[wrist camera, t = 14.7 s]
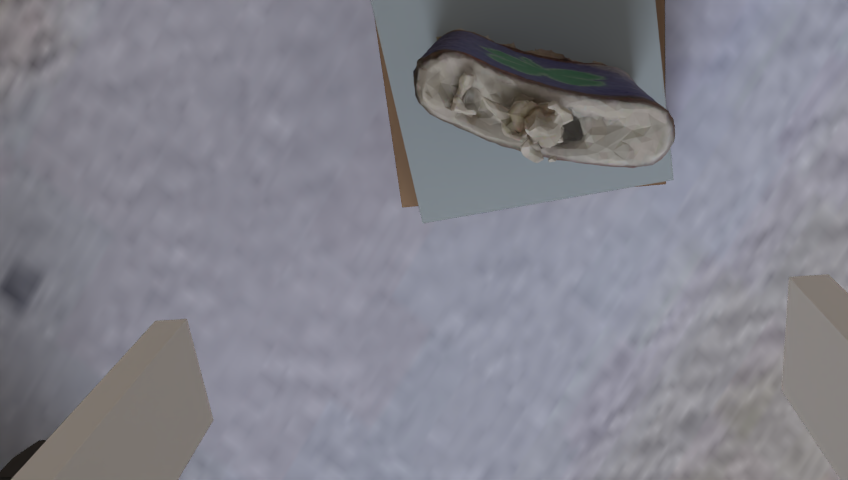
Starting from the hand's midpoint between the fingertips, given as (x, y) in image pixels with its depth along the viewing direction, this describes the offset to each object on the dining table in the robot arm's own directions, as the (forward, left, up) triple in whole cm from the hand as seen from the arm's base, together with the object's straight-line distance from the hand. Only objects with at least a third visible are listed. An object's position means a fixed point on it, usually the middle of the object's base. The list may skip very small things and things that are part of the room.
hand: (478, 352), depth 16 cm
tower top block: (+2, +3, -23) cm, 24 cm away
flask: (+2, +3, -20) cm, 20 cm away
